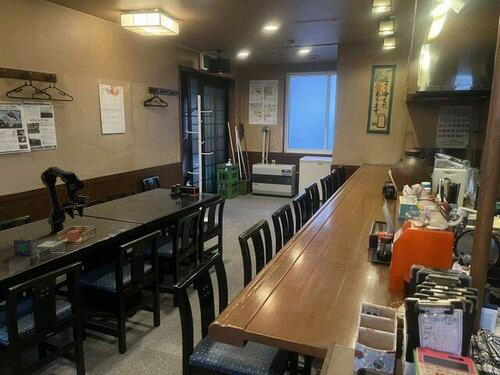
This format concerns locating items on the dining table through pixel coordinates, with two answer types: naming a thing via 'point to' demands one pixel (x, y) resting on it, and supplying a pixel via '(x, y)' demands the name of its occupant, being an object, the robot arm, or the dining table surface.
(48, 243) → the plate
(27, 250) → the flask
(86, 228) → the hinoki box
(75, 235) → the block
